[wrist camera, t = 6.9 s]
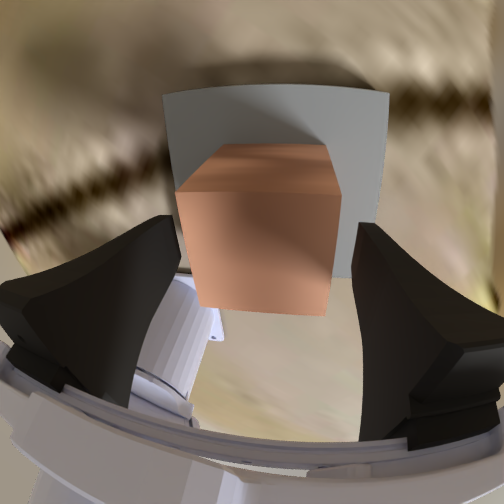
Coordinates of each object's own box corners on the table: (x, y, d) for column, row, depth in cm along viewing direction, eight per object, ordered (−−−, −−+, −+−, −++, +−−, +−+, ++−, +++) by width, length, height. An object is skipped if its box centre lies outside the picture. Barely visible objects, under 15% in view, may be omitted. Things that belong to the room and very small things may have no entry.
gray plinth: (202, 247, 20) (191, 268, 18) (180, 91, 14) (161, 95, 12) (357, 255, 19) (362, 278, 17) (376, 90, 12) (389, 93, 10)
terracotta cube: (231, 230, 16) (200, 306, 11) (223, 144, 13) (174, 192, 8) (320, 234, 15) (324, 316, 10) (326, 145, 12) (342, 195, 8)
